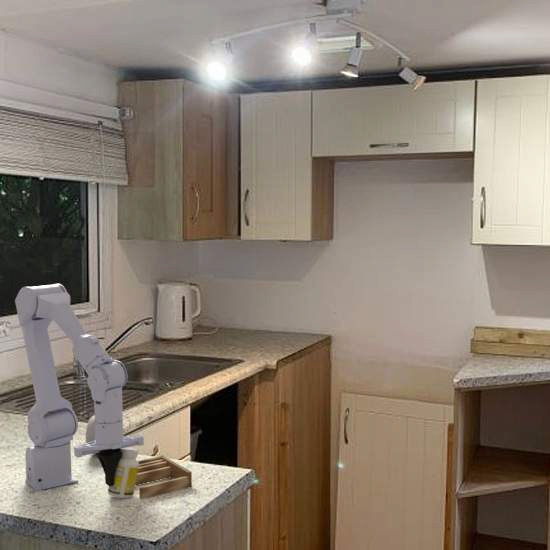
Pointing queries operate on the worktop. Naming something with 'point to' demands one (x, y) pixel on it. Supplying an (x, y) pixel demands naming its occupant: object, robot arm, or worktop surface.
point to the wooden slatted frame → (161, 476)
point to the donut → (90, 430)
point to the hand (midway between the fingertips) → (110, 484)
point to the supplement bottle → (125, 474)
